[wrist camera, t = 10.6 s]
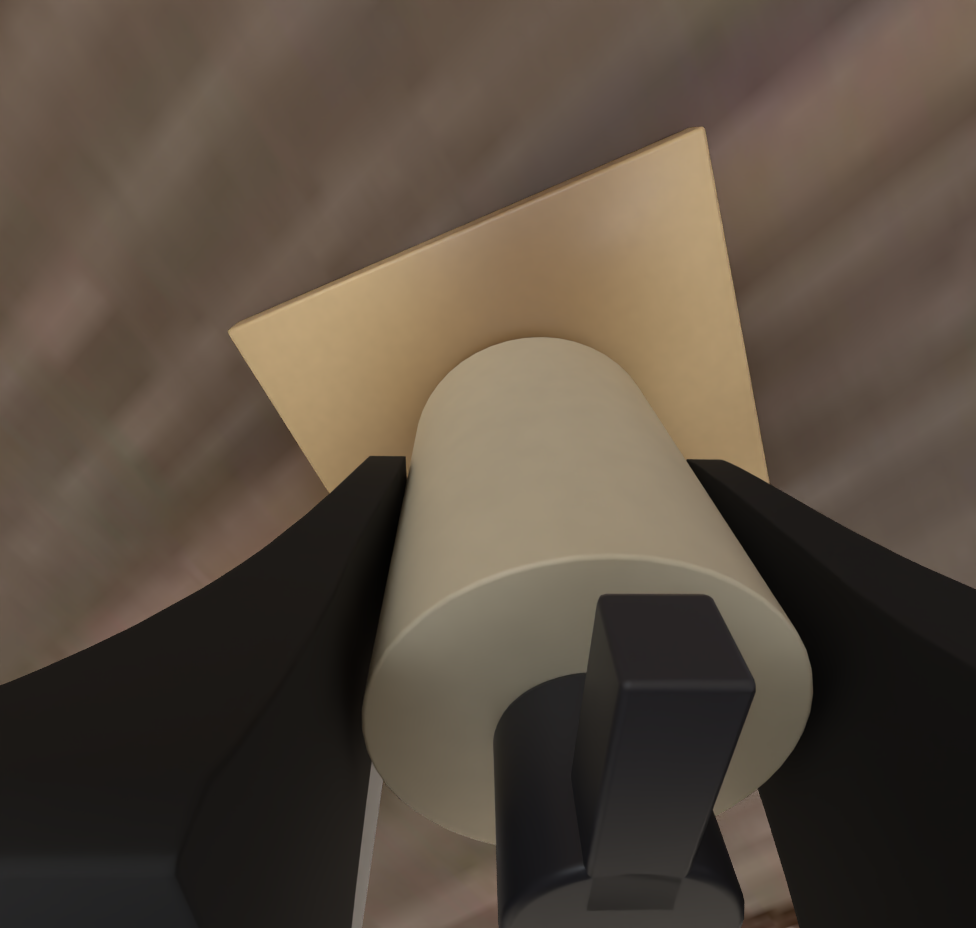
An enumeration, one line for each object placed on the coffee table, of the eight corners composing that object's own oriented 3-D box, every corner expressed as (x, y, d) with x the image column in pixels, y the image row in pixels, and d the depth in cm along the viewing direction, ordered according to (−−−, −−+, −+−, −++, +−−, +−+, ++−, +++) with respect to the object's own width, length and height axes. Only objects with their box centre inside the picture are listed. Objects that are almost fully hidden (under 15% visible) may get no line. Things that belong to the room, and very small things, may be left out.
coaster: (693, 125, 10) (705, 124, 9) (770, 527, 14) (781, 543, 13) (236, 322, 11) (225, 331, 11) (428, 633, 15) (426, 650, 15)
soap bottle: (633, 547, 13) (824, 1042, 6) (419, 545, 13) (350, 1049, 6) (676, 310, 10) (1111, 686, 3) (409, 306, 10) (260, 688, 3)
